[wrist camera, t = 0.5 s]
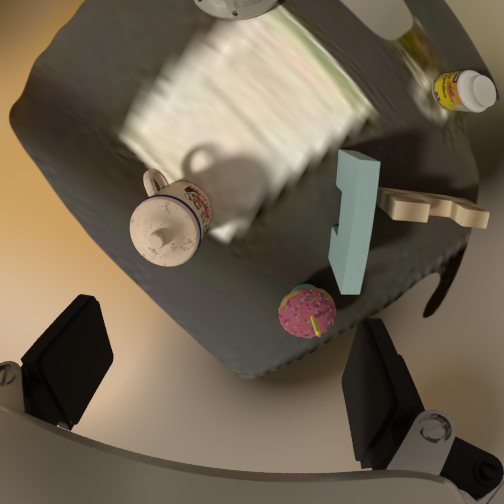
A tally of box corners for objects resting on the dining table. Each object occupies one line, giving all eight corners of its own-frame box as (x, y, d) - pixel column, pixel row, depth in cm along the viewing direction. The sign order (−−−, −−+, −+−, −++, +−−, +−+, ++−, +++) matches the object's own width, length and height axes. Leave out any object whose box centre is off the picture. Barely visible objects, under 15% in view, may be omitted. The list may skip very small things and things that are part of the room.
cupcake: (290, 266, 46) (295, 314, 35) (340, 282, 46) (357, 331, 35) (271, 310, 49) (269, 362, 38) (318, 323, 50) (327, 375, 39)
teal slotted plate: (338, 149, 38) (359, 159, 29) (355, 150, 38) (380, 161, 29) (328, 257, 45) (341, 294, 36) (343, 258, 44) (359, 294, 35)
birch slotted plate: (376, 203, 41) (393, 219, 34) (378, 187, 40) (396, 200, 33) (462, 212, 40) (486, 228, 33) (465, 198, 39) (489, 212, 32)
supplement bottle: (434, 67, 31) (473, 60, 22) (462, 84, 31) (503, 83, 22) (426, 100, 33) (465, 99, 24) (455, 116, 34) (496, 121, 24)
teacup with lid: (224, 228, 44) (208, 266, 33) (169, 247, 46) (141, 286, 35) (191, 150, 39) (162, 163, 29) (136, 175, 41) (96, 196, 31)
